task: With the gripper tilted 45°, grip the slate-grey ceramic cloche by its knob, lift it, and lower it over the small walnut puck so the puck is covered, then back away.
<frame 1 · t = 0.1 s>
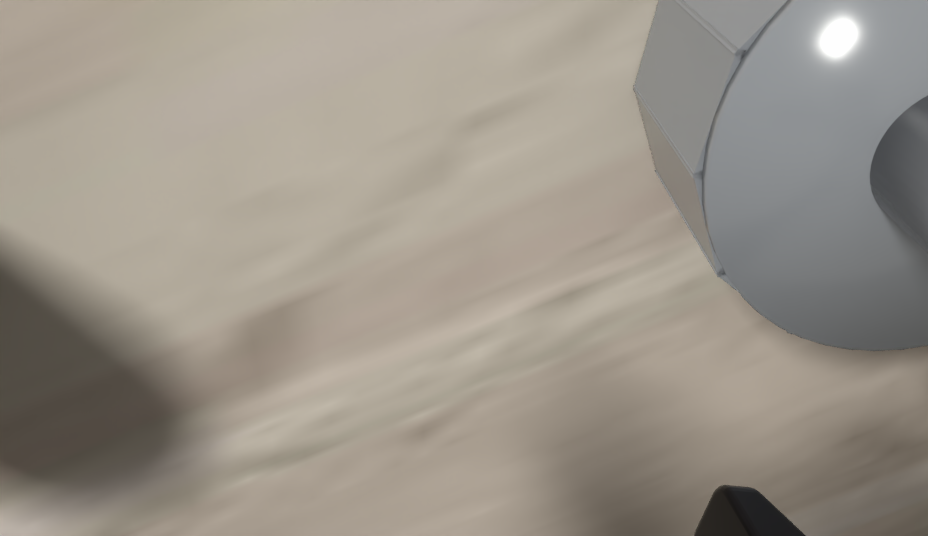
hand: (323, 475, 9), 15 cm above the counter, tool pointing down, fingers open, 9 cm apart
slate cloche: (824, 67, 22), on the counter
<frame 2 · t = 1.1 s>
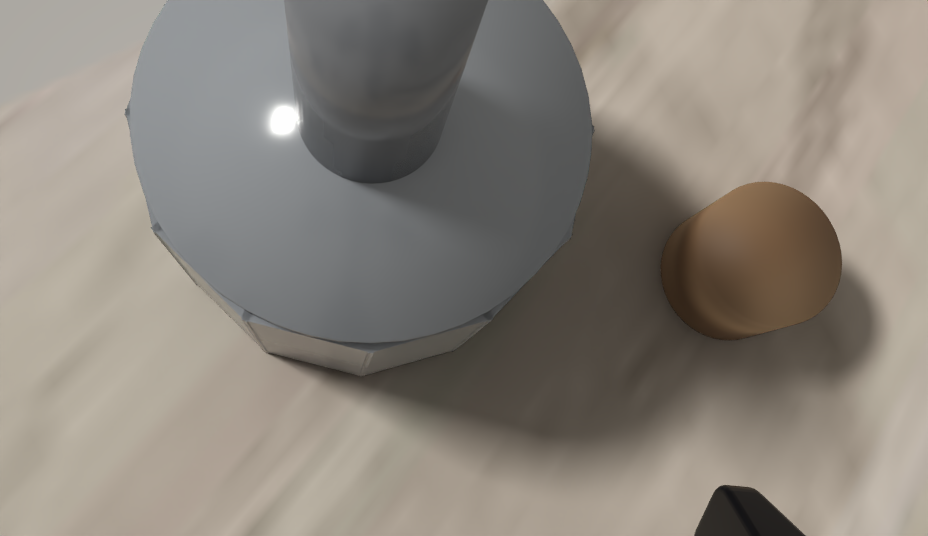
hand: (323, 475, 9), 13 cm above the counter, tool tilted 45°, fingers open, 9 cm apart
walnut puck: (722, 275, 25), on the counter
slate cloche: (361, 196, 24), on the counter
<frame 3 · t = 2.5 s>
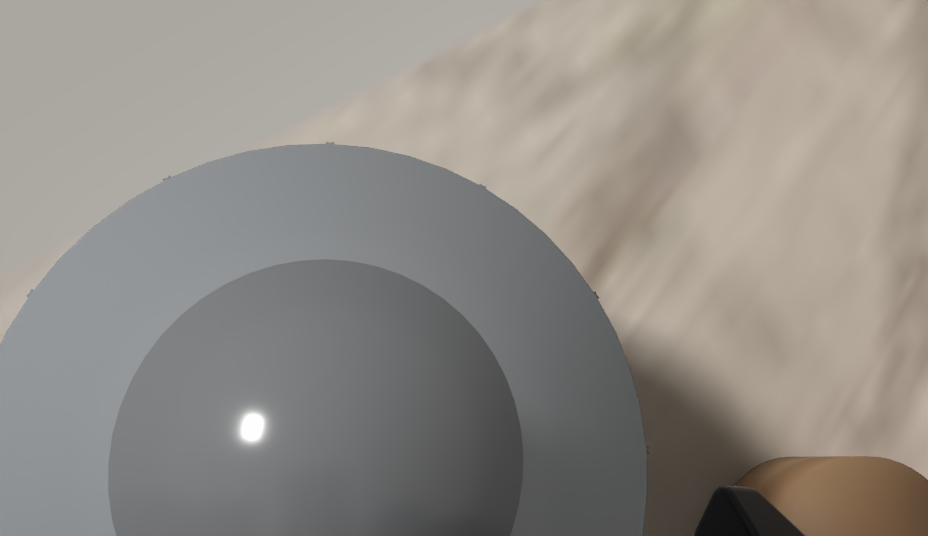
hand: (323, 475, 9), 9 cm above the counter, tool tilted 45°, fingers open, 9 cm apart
slate cloche: (328, 459, 18), on the counter
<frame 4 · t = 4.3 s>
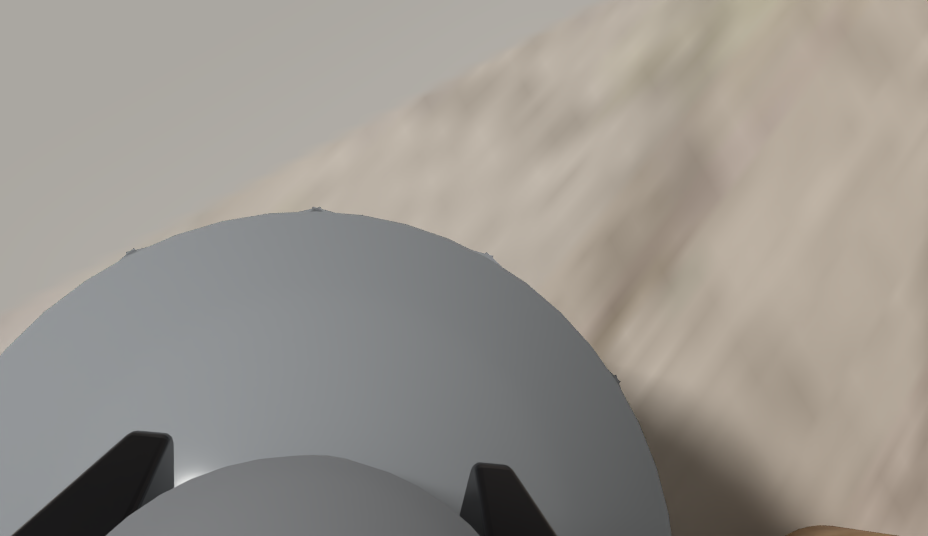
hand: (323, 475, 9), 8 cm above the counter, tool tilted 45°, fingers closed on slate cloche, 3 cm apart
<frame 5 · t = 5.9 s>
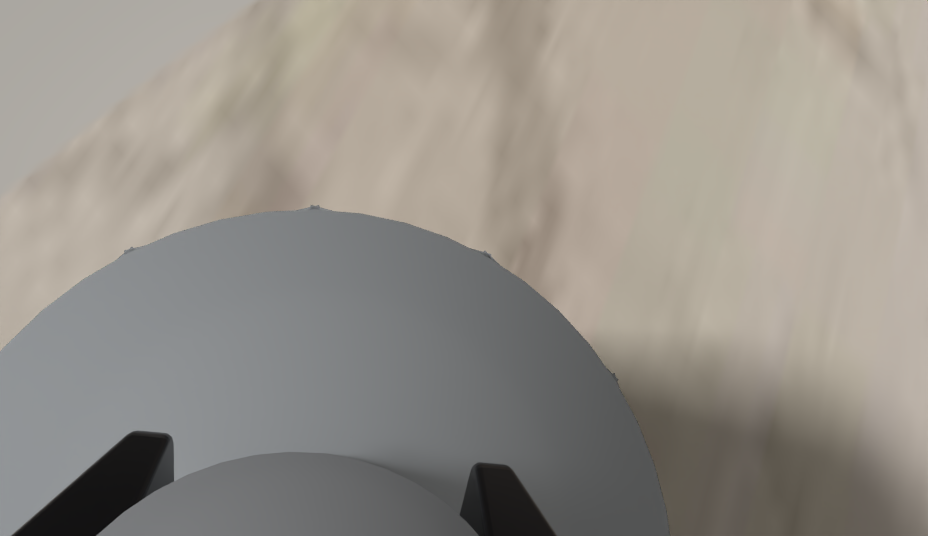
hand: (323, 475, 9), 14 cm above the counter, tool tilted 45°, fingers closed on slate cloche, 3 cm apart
slate cloche: (317, 534, 16), point 5 cm above the counter, touching gripper
when the fingers open (9 cm above the counter, at t = 7.8 s): slate cloche drops 1 cm, on the counter.
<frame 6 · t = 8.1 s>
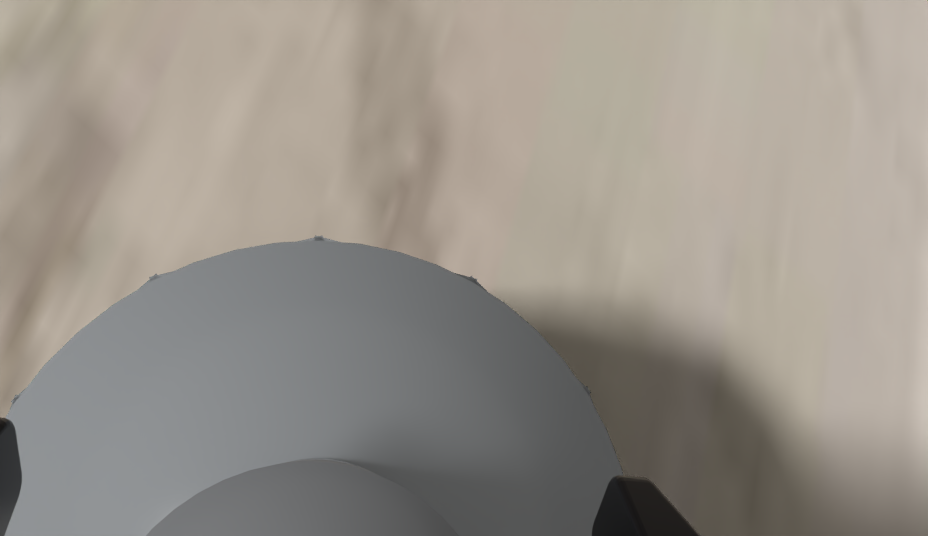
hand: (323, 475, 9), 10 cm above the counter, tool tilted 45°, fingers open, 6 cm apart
slate cloche: (319, 531, 18), on the counter
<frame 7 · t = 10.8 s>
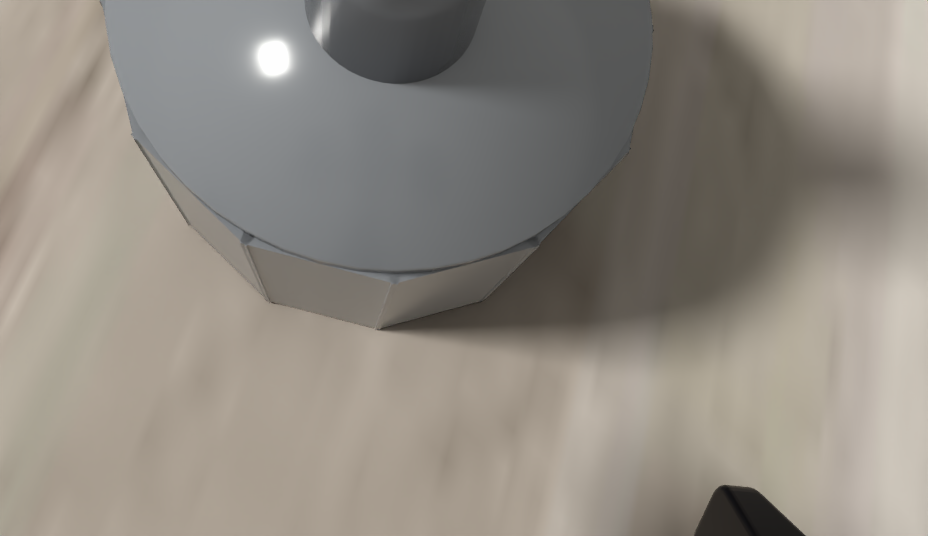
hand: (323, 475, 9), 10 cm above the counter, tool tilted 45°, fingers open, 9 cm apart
slate cloche: (375, 127, 21), on the counter
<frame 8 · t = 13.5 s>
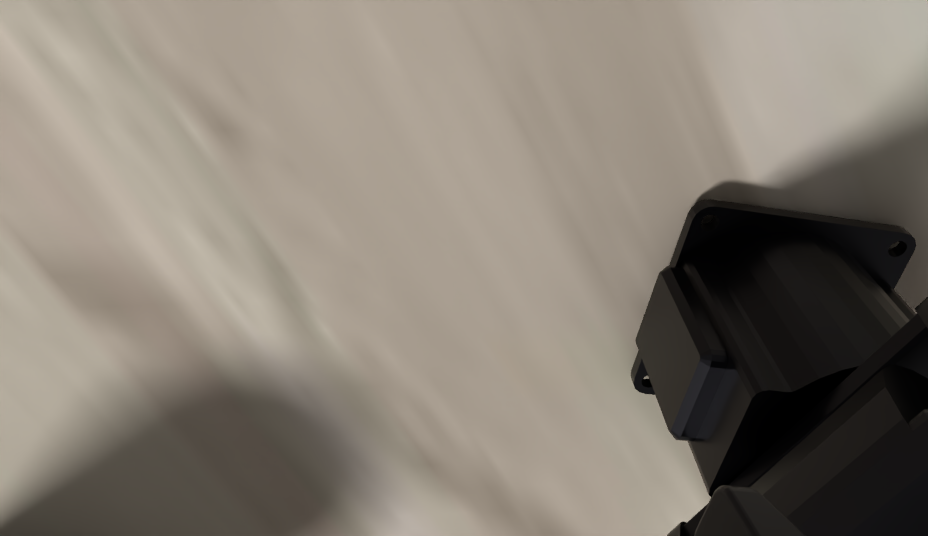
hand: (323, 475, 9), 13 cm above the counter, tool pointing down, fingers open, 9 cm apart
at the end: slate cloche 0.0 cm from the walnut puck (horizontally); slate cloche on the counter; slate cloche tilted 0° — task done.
